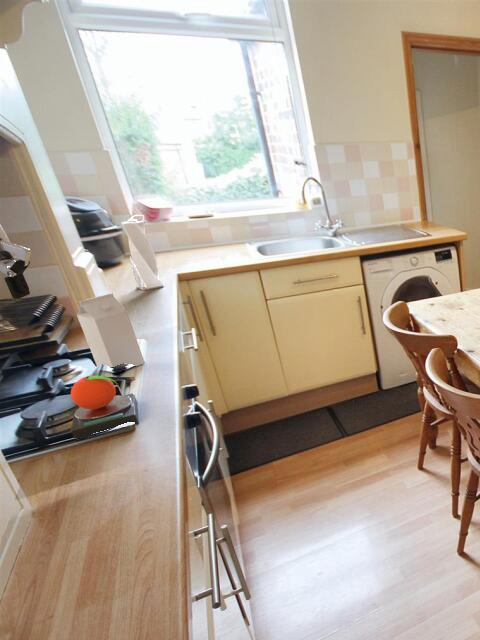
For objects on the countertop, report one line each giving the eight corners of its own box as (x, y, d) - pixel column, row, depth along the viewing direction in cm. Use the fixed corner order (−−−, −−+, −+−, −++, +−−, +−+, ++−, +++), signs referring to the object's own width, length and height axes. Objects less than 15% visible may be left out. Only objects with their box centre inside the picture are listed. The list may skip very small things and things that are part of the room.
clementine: (132, 395, 101) (121, 366, 98) (118, 411, 95) (106, 381, 92) (87, 401, 99) (75, 371, 96) (70, 418, 93) (57, 387, 90)
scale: (79, 417, 99) (73, 405, 98) (137, 402, 105) (133, 391, 104) (75, 441, 91) (70, 429, 90) (138, 424, 97) (134, 412, 96)
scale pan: (77, 407, 98) (75, 404, 98) (131, 394, 103) (130, 390, 103) (74, 427, 91) (72, 423, 91) (132, 411, 97) (131, 408, 96)
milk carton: (98, 370, 119) (70, 299, 112) (128, 358, 125) (103, 291, 118) (115, 375, 117) (88, 303, 109) (145, 363, 123) (121, 294, 115)
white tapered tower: (161, 282, 191) (139, 213, 180) (169, 286, 187) (147, 214, 176) (136, 287, 185) (112, 215, 174) (144, 291, 180) (120, 217, 169)
